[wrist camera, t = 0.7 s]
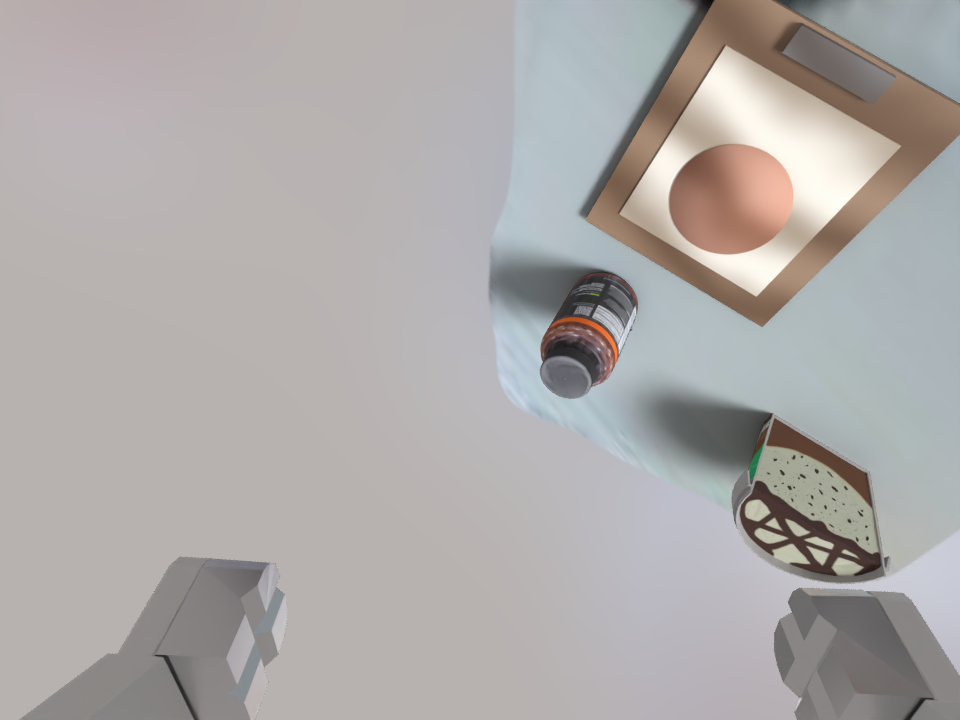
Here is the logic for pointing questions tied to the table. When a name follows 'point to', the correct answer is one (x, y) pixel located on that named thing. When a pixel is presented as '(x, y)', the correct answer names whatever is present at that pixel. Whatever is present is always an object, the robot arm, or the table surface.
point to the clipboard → (769, 155)
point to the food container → (808, 509)
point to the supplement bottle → (587, 335)
